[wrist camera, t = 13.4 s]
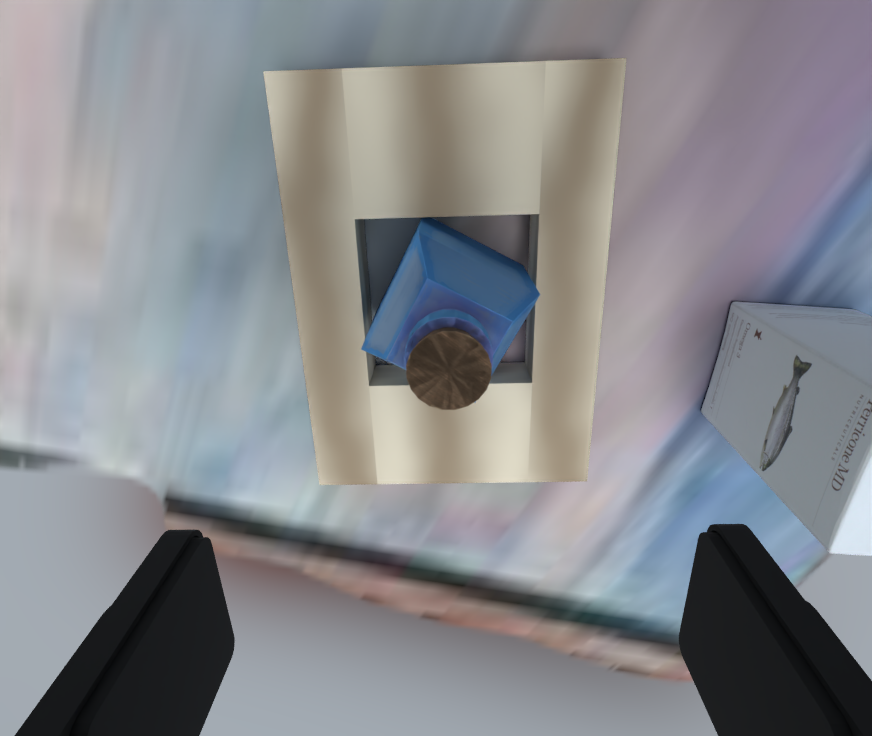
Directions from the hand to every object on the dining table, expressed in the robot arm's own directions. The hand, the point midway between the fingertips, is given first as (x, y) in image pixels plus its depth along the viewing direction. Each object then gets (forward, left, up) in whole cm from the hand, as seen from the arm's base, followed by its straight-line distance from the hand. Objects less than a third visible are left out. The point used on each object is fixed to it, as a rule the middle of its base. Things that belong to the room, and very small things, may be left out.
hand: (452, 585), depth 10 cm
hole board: (0, 0, -22) cm, 22 cm away
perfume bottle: (0, 0, -22) cm, 22 cm away
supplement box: (-19, +5, -22) cm, 30 cm away
